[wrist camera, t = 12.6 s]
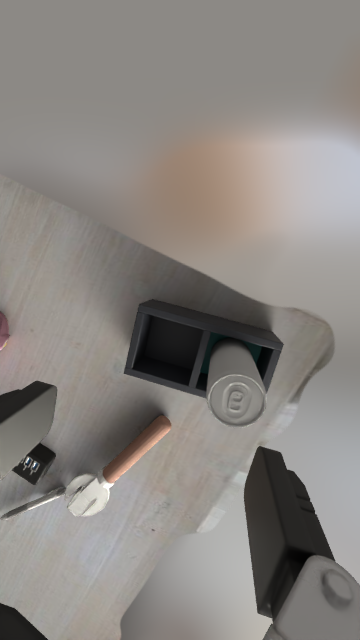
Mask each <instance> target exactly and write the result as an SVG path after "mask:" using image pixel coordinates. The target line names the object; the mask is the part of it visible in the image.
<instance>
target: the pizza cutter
mask: <svg viewBox="0 0 360 640" xmlns="http://www.w3.org/2000/svg"><path fill="white" fill-rule="evenodd" d="M170 429H171V423H170V421H169V419H168V418H167V417H165V416H163V415H162V416H159V417H158V418H156V419H155V420H154V421H153V422H152V423H151V424H150V425H149V426H148V427H147V428H146V429H145V430H144V431H143V432H142V433H141V434H140V435H139V436H138V437H137V438H136V439H134V440H133V441H132V442H131V443H130V444H129V445H128V446H127V447H126V448H125V449H124V450H123V451H122V452H121V453H120V454H119V455H118V456H117V457H116V458H115V459H113V460H112V461H111V462H110V463H109V464H108V465H107V466H105V467H104V468H103V469H102V470H101V471H100V472H99V473H98V475H95V474H91V473H87V474H81V475H79V476H77V477H75V478H74V479H73V480H72V481H71V483H70V484H69V485H68V486H67V489H66V491H65V500H66V499H67V498H68V497H69V496H71V495H72V494H73V493H74V492H75V491H76V490H77V489H78V488H79V487H82V488H81V489H80V490H79V491H78V492H77V493H76V494H75V495H74V497H73V498H72V499H71V501H70V503H69V504H68V506H67V508H68V509H69V510H70V511H71V512H72V513H73V514H74V515H75V516H76V517H78V516H79V515H80V514H81V513H82V512H83V511H84V510H85V509H86V508H87V506H88V505H89V503H90V502H91V501H92V500H93V499H94V498H96V502H95V503H93V504H92V505H91V506H90V507H89V508H88V509H87V510H86V511H85V512H84V513H83V514H82V515H81V516H91V515H94V514H96V513H98V512H99V511H100V510H102V509H103V508H104V507H105V505H106V503H107V501H108V499H109V488H110V487H111V486H112V485H113V484H114V483H115V482H116V480H117V479H118V478H119V477H120V476H121V475H122V474H123V473H124V472H126V471H127V470H128V469H129V468H130V467H131V466H132V465H133V464H134V463H135V462H136V461H137V460H138V459H140V458H141V457H142V456H143V455H144V454H145V453H146V452H147V451H148V450H149V449H150V448H151V447H152V446H154V445H155V444H156V443H157V442H158V441H159V440H160V439H161V438H162V437H163V436H164V435H165V434H167V433H168V432H169V431H170ZM85 487H86V488H85Z"/></svg>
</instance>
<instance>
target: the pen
mask: <svg viewBox="0 0 360 640" xmlns="http://www.w3.org/2000/svg"><path fill="white" fill-rule="evenodd" d="M66 489H67V488H65V487H59V488H57V489H55V490H53V491H51V492H52V493H51V492H49V493H47V494H46V495H45V496H43V497H41V498H39V499H37V500H34V501H32V502H29V503H27V504H25V505H23V506H20V507H18V508H16V509H14V510H11V511H9V512H8V513H6V514H4V515H3V516H2V517H1V518H0V520H7V519H10V518H13V517H15V516H17V515H19V514H22V513H24V512H26V511H29V510H31V509H33V508H35V507H37V506H39V505H42V504H44V503H46V502H48V501H51V500H53V499H55V498H58V497H60V496H62V495H64V494H65V491H66ZM56 490H57V491H56ZM54 491H55V492H54Z"/></svg>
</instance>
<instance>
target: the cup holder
mask: <svg viewBox="0 0 360 640" xmlns="http://www.w3.org/2000/svg"><path fill="white" fill-rule="evenodd" d="M224 338H236V339H239V340H241V341H243V342H244V343H245V344H246V345H247V346H248V348H249V350H250V352H251V355H252V357H253V360H254V362H255V365H256V367H257V370H258V372H259V375H260V377H261V380H262V382H263V385H264V387H265V391H266V394H267V391H268V388H269V385H270V382H271V380H272V377H273V374H274V371H275V368H276V365H277V362H278V359H279V356H280V353H281V350H282V348H283V345H284V344H283V343H282V342H281V341H280V339H279V338H278V337H277V336H276V335H275V334H274V333H273V332H272V331H268V330H265V329H261V328H257V327H254V326H250V325H246V324H243V323H239V322H235V321H231V320H228V319H224V318H220V317H217V316H213V315H209V314H206V313H202V312H198V311H195V310H191V309H187V308H183V307H180V306H176V305H172V304H169V303H165V302H161V301H158V300H154V299H152V300H149V301H147V302H144V303H141V304H139V307H138V312H137V316H136V321H135V325H134V330H133V334H132V339H131V343H130V348H129V353H128V357H127V362H126V367H125V371H124V374H127V375H130V376H134V377H137V378H140V379H144V380H147V381H150V382H154V383H157V384H160V385H164V386H167V387H170V388H173V389H177V390H180V391H183V392H187V393H190V394H193V395H197V396H200V397H203V398H206V392H207V382H208V374H209V365H210V355H211V351H212V348H213V346H214V345H215V344H216V343H217V342H218V341H220V340H222V339H224Z"/></svg>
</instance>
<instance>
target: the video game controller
mask: <svg viewBox="0 0 360 640" xmlns="http://www.w3.org/2000/svg"><path fill="white" fill-rule="evenodd" d="M9 336H10V335H9V326H8V322H7V319H6V317H5V316H4V314H3V313H1V312H0V351H1V350H2V348H3V347H5V346H6V341H7V340H8V338H9Z"/></svg>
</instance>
